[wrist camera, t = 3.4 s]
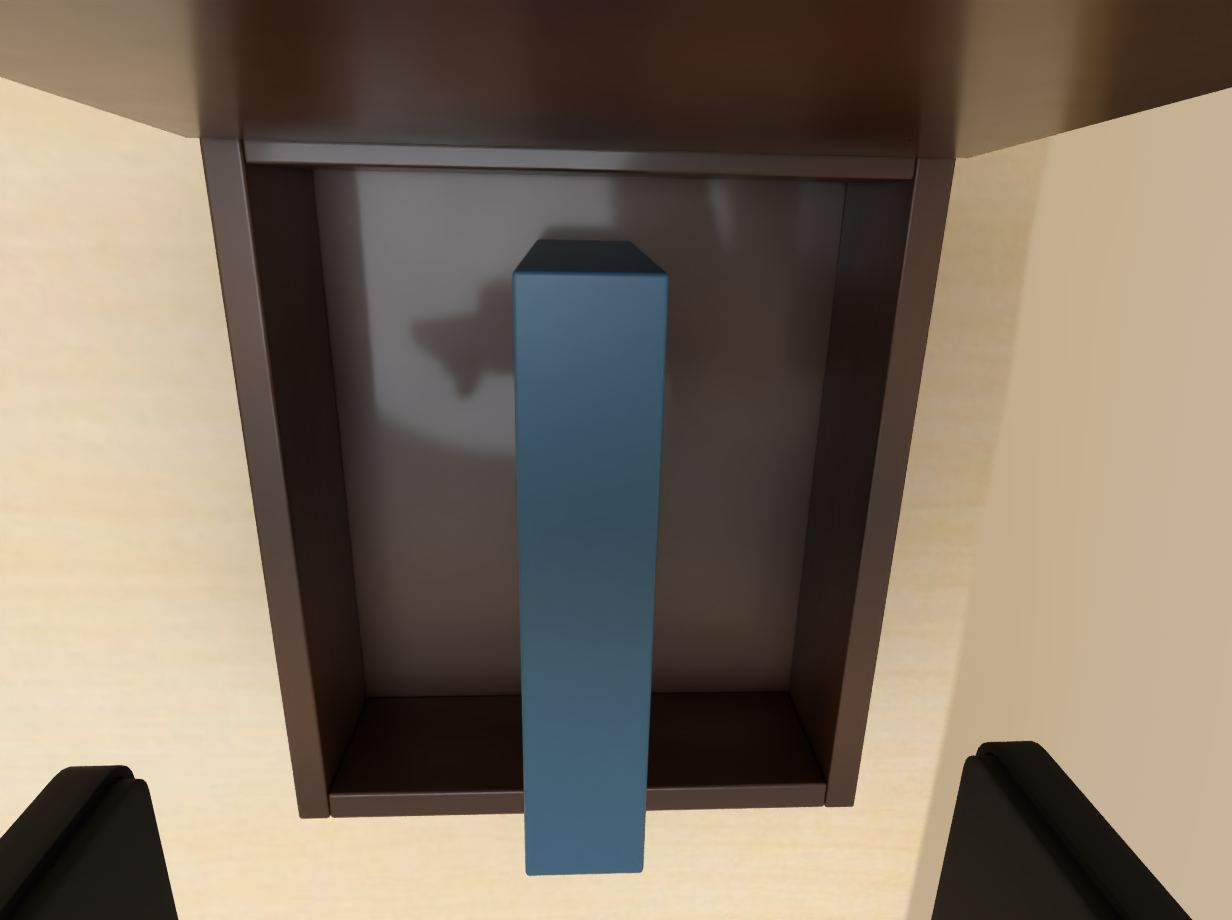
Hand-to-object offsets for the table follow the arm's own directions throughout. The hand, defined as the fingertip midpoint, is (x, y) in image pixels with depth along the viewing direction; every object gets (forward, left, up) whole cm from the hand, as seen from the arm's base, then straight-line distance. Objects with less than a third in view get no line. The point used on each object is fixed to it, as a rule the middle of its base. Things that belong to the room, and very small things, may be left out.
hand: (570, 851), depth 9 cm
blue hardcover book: (0, 0, -13) cm, 13 cm away
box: (0, 0, -14) cm, 14 cm away
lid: (-6, -7, 0) cm, 9 cm away
